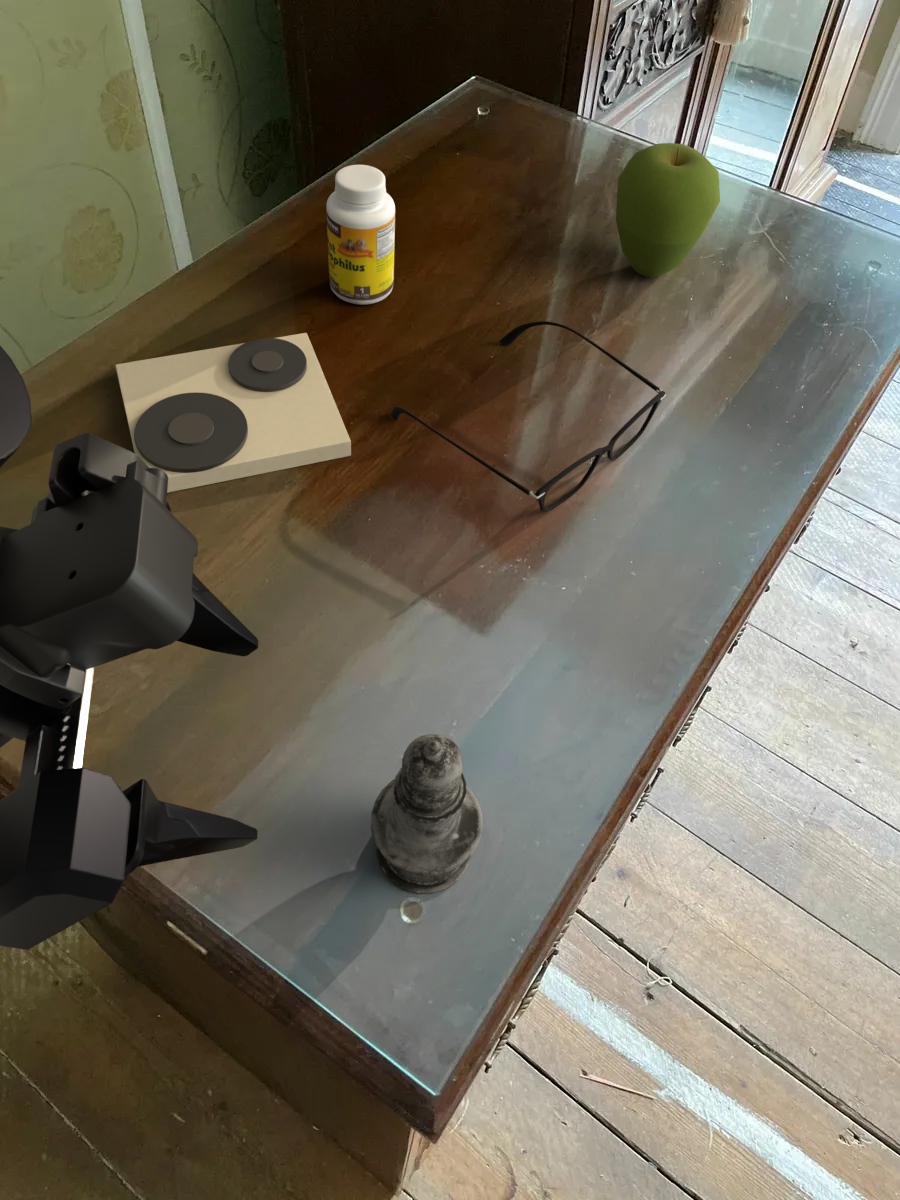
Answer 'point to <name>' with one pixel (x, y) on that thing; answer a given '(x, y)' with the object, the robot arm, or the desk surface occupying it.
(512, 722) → the desk surface
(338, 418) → the stove
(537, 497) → the eyeglasses
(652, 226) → the apple
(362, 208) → the supplement bottle
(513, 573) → the desk surface
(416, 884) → the pewter sugar caster
